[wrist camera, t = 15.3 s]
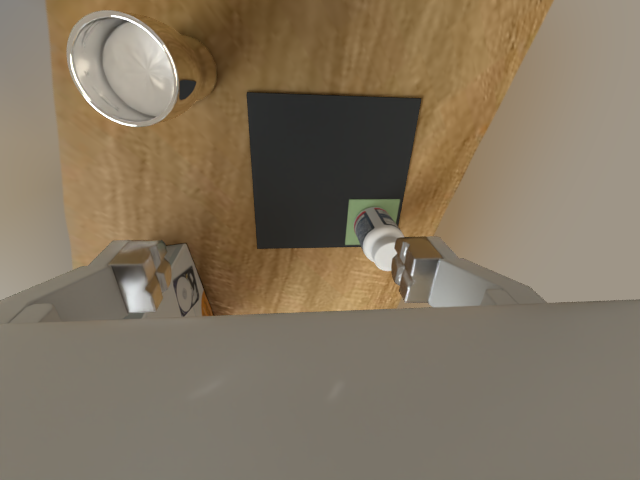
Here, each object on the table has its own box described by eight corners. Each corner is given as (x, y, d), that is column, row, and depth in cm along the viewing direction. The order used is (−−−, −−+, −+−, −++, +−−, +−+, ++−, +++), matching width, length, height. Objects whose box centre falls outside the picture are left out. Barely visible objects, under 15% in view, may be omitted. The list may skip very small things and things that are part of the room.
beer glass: (234, 87, 34) (203, 102, 21) (180, 115, 35) (118, 147, 22) (195, 15, 31) (131, -19, 18) (136, 49, 32) (34, 40, 19)
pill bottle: (357, 243, 45) (372, 281, 37) (349, 212, 42) (364, 245, 35) (392, 233, 45) (415, 268, 37) (387, 201, 42) (410, 232, 34)
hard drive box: (218, 322, 50) (185, 457, 33) (171, 330, 50) (112, 470, 33) (187, 240, 43) (122, 361, 25) (130, 249, 42) (26, 376, 25)
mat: (247, 92, 34) (246, 92, 34) (420, 98, 37) (422, 98, 36) (257, 247, 44) (257, 249, 44) (393, 245, 46) (394, 247, 46)
